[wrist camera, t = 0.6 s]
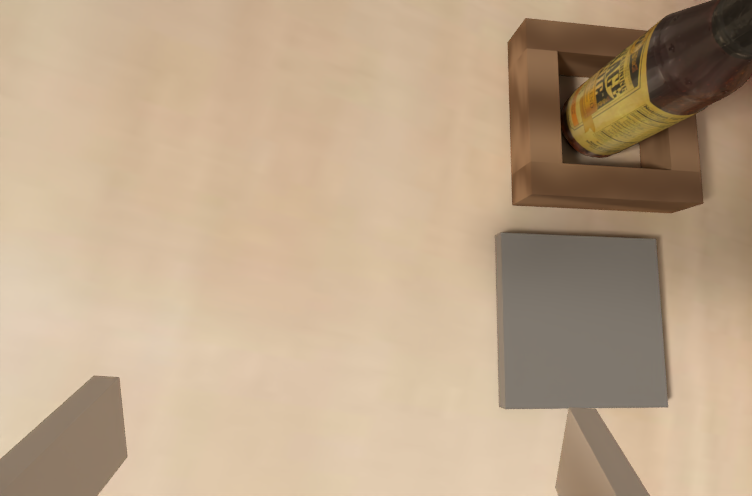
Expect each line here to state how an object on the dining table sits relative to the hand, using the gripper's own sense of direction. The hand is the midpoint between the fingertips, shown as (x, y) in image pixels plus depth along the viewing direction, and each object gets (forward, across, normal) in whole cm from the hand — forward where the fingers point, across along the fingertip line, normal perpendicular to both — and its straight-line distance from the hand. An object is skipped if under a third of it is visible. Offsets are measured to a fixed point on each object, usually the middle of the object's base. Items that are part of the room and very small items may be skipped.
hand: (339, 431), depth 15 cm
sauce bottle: (+33, +17, +8) cm, 38 cm away
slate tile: (+25, +16, -7) cm, 31 cm away
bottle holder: (+32, +17, +8) cm, 37 cm away
